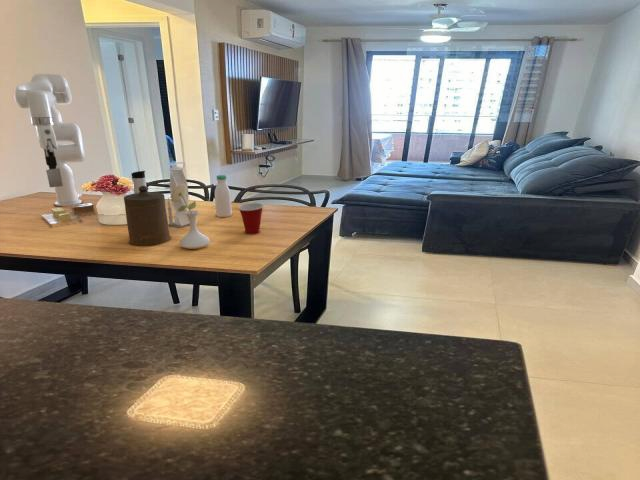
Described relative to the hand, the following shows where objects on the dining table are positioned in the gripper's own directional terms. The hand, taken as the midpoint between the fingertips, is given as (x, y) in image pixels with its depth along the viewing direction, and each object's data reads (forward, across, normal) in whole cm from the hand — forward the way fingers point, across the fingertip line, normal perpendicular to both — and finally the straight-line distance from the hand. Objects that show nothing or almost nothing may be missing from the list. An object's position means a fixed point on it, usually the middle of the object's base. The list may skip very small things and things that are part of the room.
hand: (51, 165), depth 167 cm
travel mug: (+26, 0, -36) cm, 45 cm away
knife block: (+26, +7, -10) cm, 29 cm away
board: (+26, +4, 0) cm, 26 cm away
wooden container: (+26, -51, -19) cm, 60 cm away
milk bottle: (+26, -39, -61) cm, 77 cm away
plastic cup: (+26, -70, -55) cm, 93 cm away
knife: (+10, 0, 0) cm, 10 cm away
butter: (+25, +7, 0) cm, 26 cm away
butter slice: (+25, -3, 0) cm, 25 cm away
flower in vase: (+26, -71, -28) cm, 80 cm away
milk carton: (+26, -40, -38) cm, 61 cm away
